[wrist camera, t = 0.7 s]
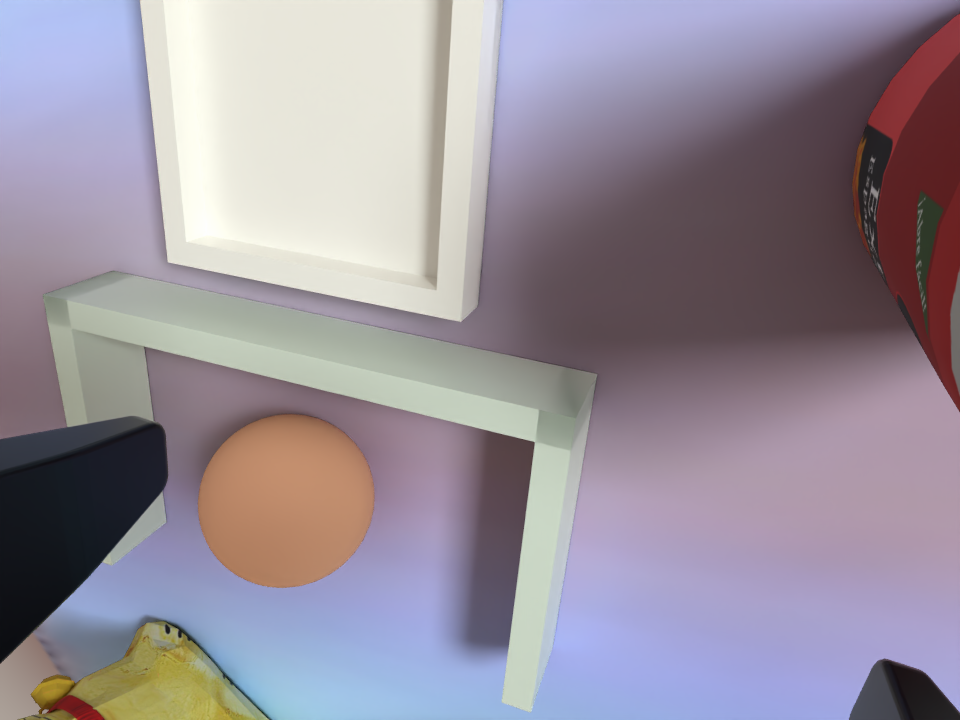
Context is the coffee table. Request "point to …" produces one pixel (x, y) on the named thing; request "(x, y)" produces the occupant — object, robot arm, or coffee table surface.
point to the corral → (351, 372)
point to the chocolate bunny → (148, 685)
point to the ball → (286, 500)
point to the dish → (328, 143)
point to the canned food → (918, 197)
